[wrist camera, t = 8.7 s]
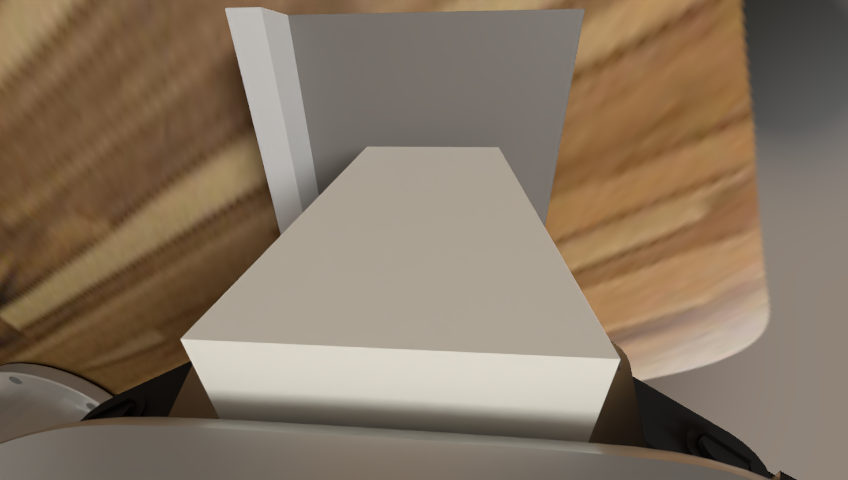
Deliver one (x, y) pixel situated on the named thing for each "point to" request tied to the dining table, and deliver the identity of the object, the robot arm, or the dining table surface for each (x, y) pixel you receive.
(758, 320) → the dining table surface
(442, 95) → the shelf board
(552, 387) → the carton
